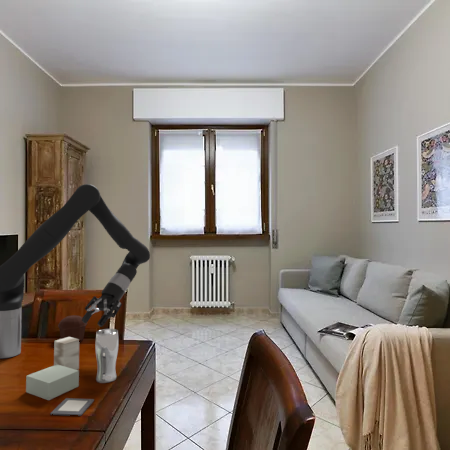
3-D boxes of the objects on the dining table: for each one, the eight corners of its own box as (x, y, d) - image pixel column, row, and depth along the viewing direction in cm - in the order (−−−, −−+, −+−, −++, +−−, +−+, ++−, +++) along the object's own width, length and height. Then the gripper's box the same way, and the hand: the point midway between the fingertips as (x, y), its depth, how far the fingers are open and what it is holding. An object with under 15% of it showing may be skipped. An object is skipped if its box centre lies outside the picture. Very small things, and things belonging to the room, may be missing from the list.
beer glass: (122, 376, 114) (123, 329, 114) (108, 385, 107) (109, 335, 107) (104, 373, 116) (105, 327, 116) (89, 381, 109) (90, 333, 110)
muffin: (51, 342, 146) (51, 318, 146) (69, 334, 157) (69, 312, 157) (76, 345, 143) (76, 320, 143) (92, 337, 154) (93, 314, 154)
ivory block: (53, 370, 117) (54, 340, 117) (68, 365, 122) (69, 336, 122) (64, 374, 114) (64, 343, 115) (78, 368, 119) (79, 339, 119)
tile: (50, 414, 90) (50, 412, 90) (65, 399, 98) (65, 397, 98) (81, 415, 89) (81, 413, 89) (94, 400, 97) (94, 398, 97)
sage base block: (26, 393, 102) (26, 375, 102) (56, 380, 111) (56, 364, 111) (48, 401, 97) (48, 383, 97) (78, 387, 106) (78, 370, 106)
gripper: (98, 280, 138) (72, 315, 128) (124, 283, 131) (98, 320, 121) (109, 291, 143) (84, 326, 133) (134, 295, 136) (110, 332, 126)
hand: (91, 323), depth 127 cm, fingers open, 8 cm apart
